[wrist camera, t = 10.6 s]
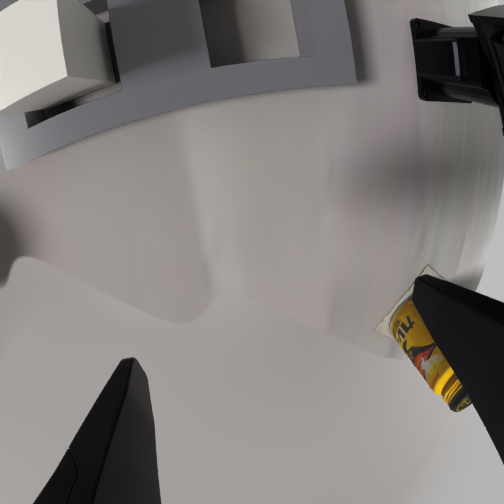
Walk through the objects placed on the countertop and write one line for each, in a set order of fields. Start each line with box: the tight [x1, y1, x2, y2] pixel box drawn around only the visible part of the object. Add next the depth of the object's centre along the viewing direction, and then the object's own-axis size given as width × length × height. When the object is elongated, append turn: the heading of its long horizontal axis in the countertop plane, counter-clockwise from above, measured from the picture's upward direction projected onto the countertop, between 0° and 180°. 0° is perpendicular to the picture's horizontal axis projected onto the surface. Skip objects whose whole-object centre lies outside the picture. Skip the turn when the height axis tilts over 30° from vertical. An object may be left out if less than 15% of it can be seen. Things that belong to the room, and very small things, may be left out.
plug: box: [0, 0, 116, 118], centre depth 9 cm, size 4×4×8 cm
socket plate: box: [0, 0, 357, 171], centre depth 10 cm, size 20×12×6 cm, turn 99°
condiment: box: [374, 265, 472, 412], centre depth 24 cm, size 7×8×12 cm
